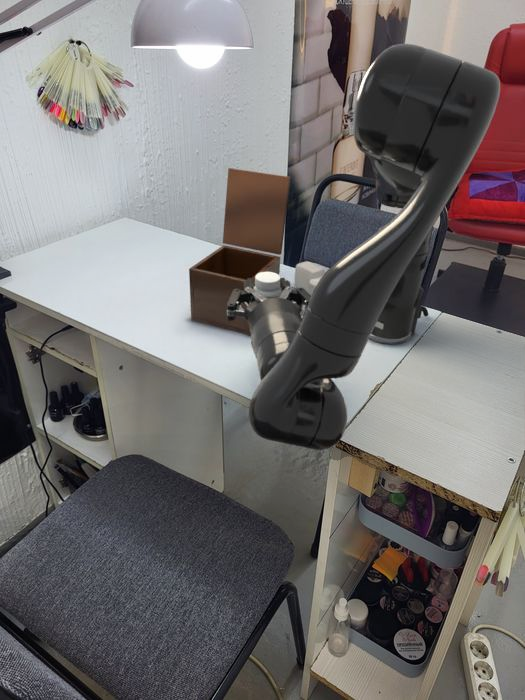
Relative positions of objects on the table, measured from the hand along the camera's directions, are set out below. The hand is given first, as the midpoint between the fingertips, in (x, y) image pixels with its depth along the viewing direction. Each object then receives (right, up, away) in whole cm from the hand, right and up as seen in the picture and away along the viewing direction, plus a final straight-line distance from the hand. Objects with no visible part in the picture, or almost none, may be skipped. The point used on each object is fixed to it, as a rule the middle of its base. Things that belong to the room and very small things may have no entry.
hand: (265, 283), depth 85 cm
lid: (-2, +16, +15) cm, 22 cm away
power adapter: (+11, +1, +28) cm, 30 cm away
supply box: (-6, -3, +19) cm, 21 cm away
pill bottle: (0, -7, +1) cm, 7 cm away
